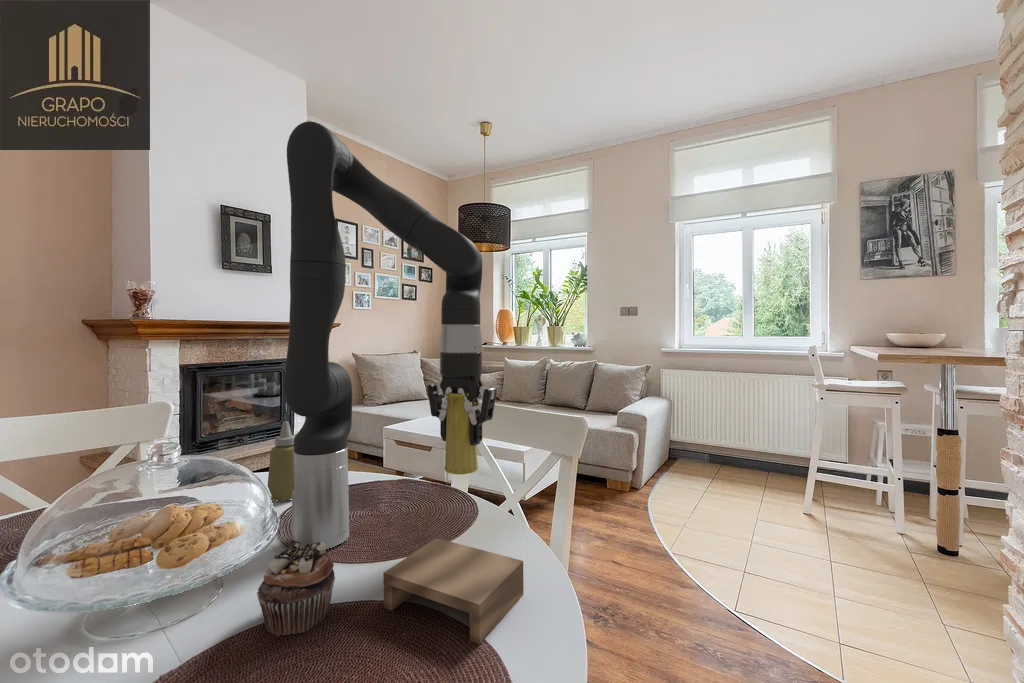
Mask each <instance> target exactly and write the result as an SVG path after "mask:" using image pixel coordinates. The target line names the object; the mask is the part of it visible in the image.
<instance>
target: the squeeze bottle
mask: <svg viewBox="0 0 1024 683" xmlns="http://www.w3.org/2000/svg"><path fill="white" fill-rule="evenodd" d="M281 424H282V425H281V429H280V435H279V436H277V437H275V438H274V447H272V448H271V449H270V453H269V454H270V455H269V464H268V475H267V476H268V477H267V487H268V490H269V492H270V495H271V498H272V500H273V499H274V500H278V501H277V502H284V501H283V500H290V499H292V491H293V490H295V481H294V438H295V436H296V434H295V435H293V433H292V430H291V425H290V423H289V421H286V420H285V421H282V423H281ZM274 500H273V501H274ZM290 501H291V500H290Z"/></svg>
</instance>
